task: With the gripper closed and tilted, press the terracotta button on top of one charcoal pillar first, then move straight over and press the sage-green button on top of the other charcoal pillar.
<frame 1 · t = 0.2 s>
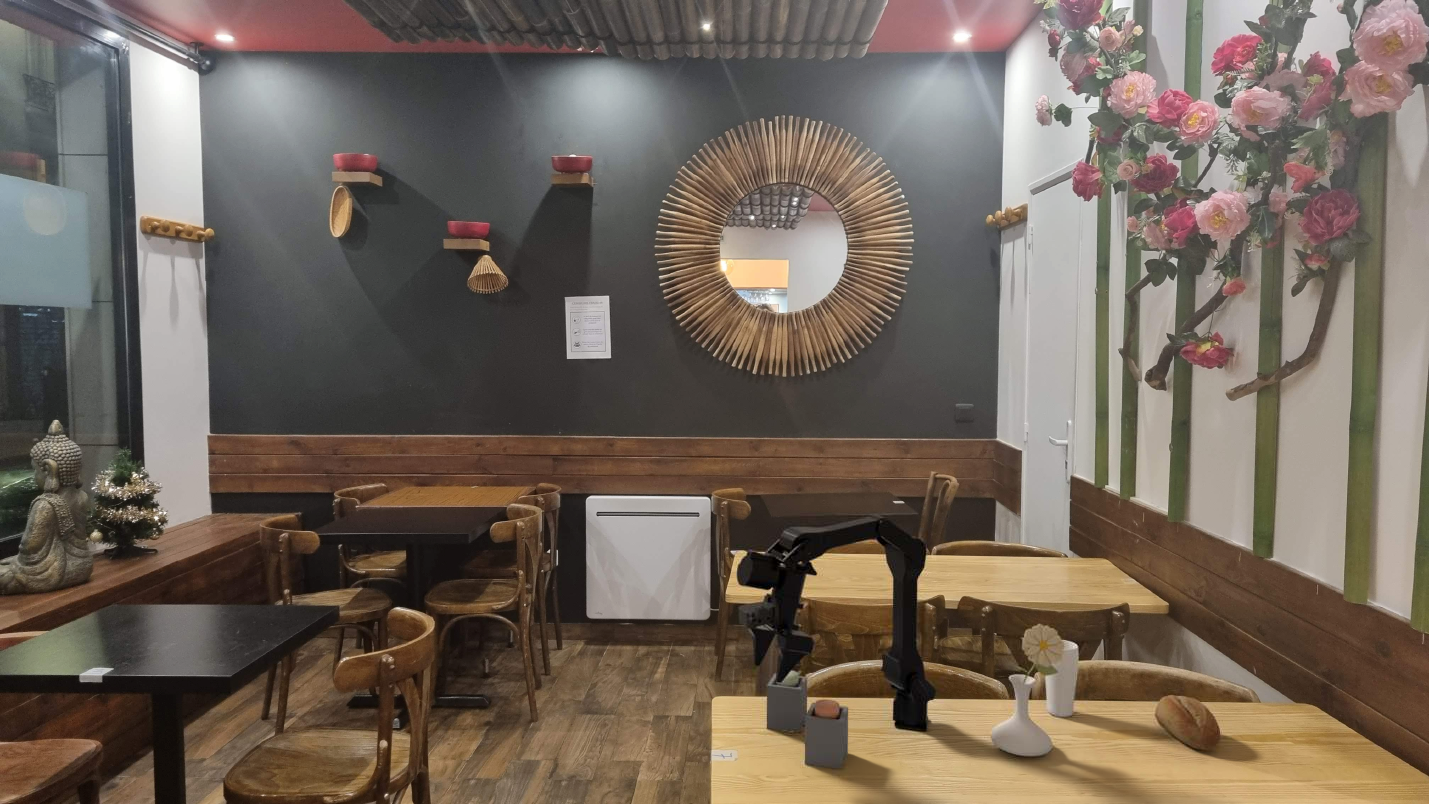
hand: (767, 673, 160), 16 cm above the table, tool pointing down, fingers open, 9 cm apart
flower in vase: (1025, 750, 163), on the table
drinking glass: (1059, 713, 180), on the table
terracotta button post: (826, 758, 159), on the table
bread roll: (1185, 739, 168), on the table
terracotta button: (827, 710, 158), point 9 cm above the table, slide at 0.0 cm
sage button: (787, 679, 173), point 9 cm above the table, slide at 0.0 cm
sage button post: (787, 723, 174), on the table
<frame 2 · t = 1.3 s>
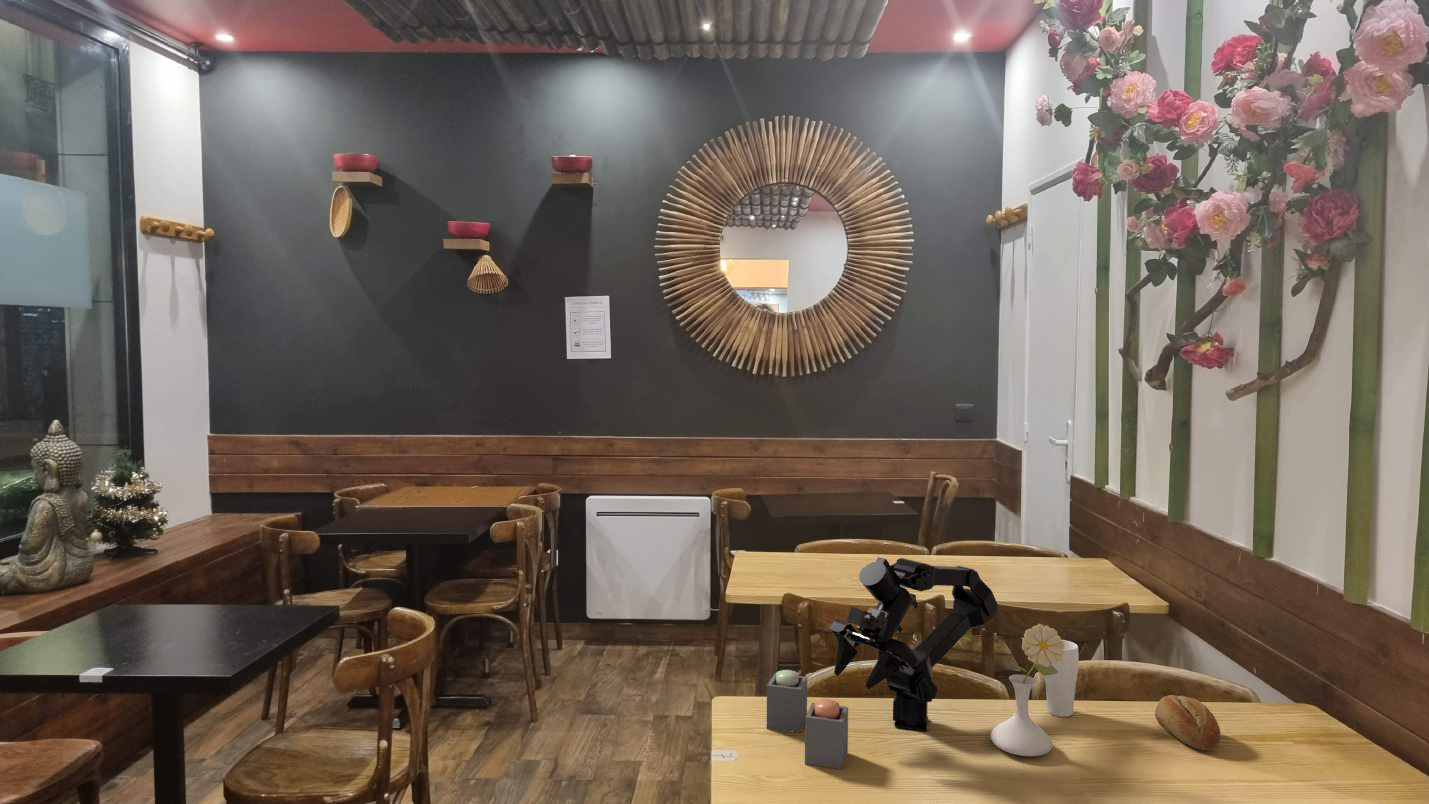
hand: (851, 681, 162), 13 cm above the table, tool tilted 45°, fingers open, 8 cm apart
nothing on the table moved.
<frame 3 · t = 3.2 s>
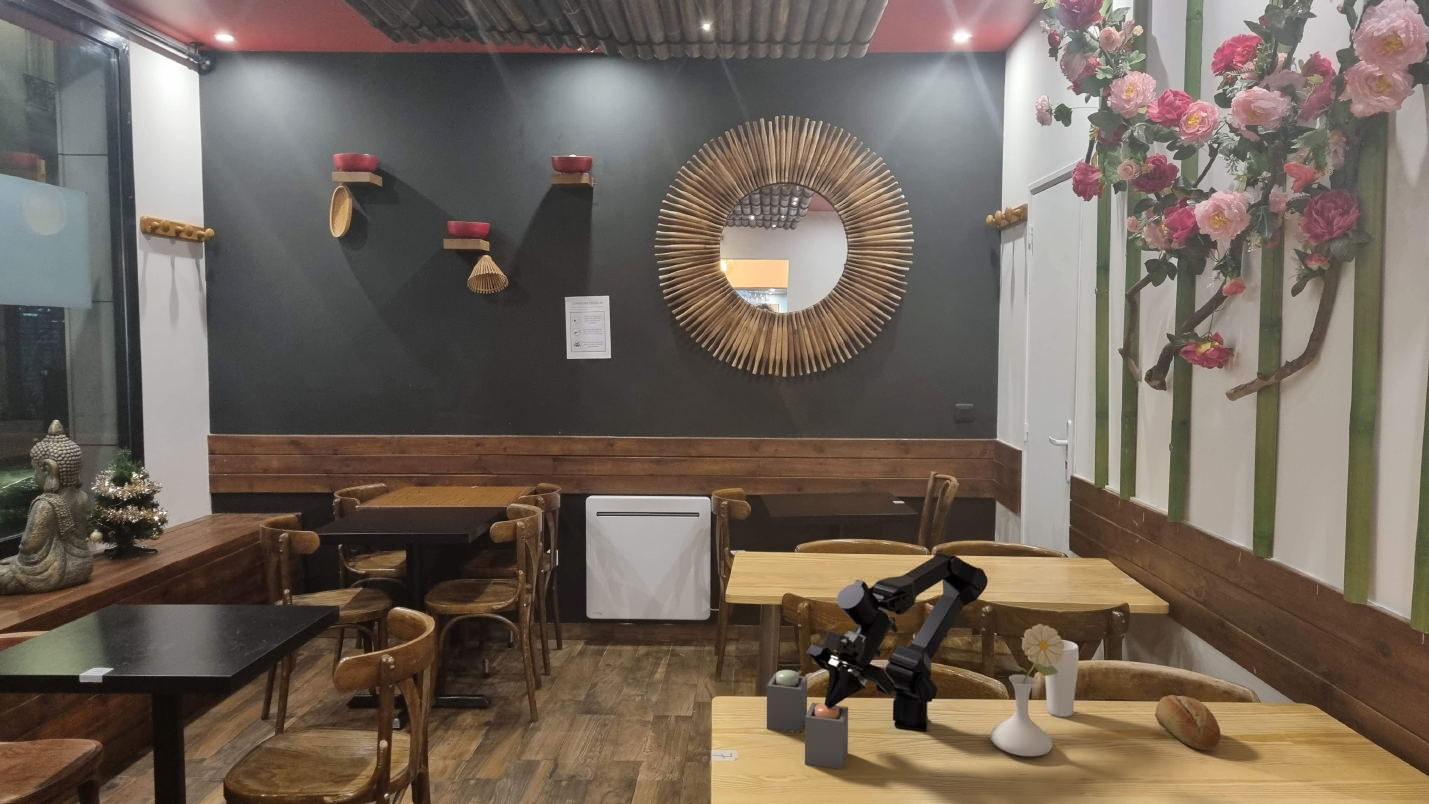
hand: (827, 706, 158), 10 cm above the table, tool tilted 45°, fingers closed, pressing on terracotta button
terracotta button: (826, 714, 158), point 8 cm above the table, slide at 0.8 cm, touching gripper
everything else where it was.
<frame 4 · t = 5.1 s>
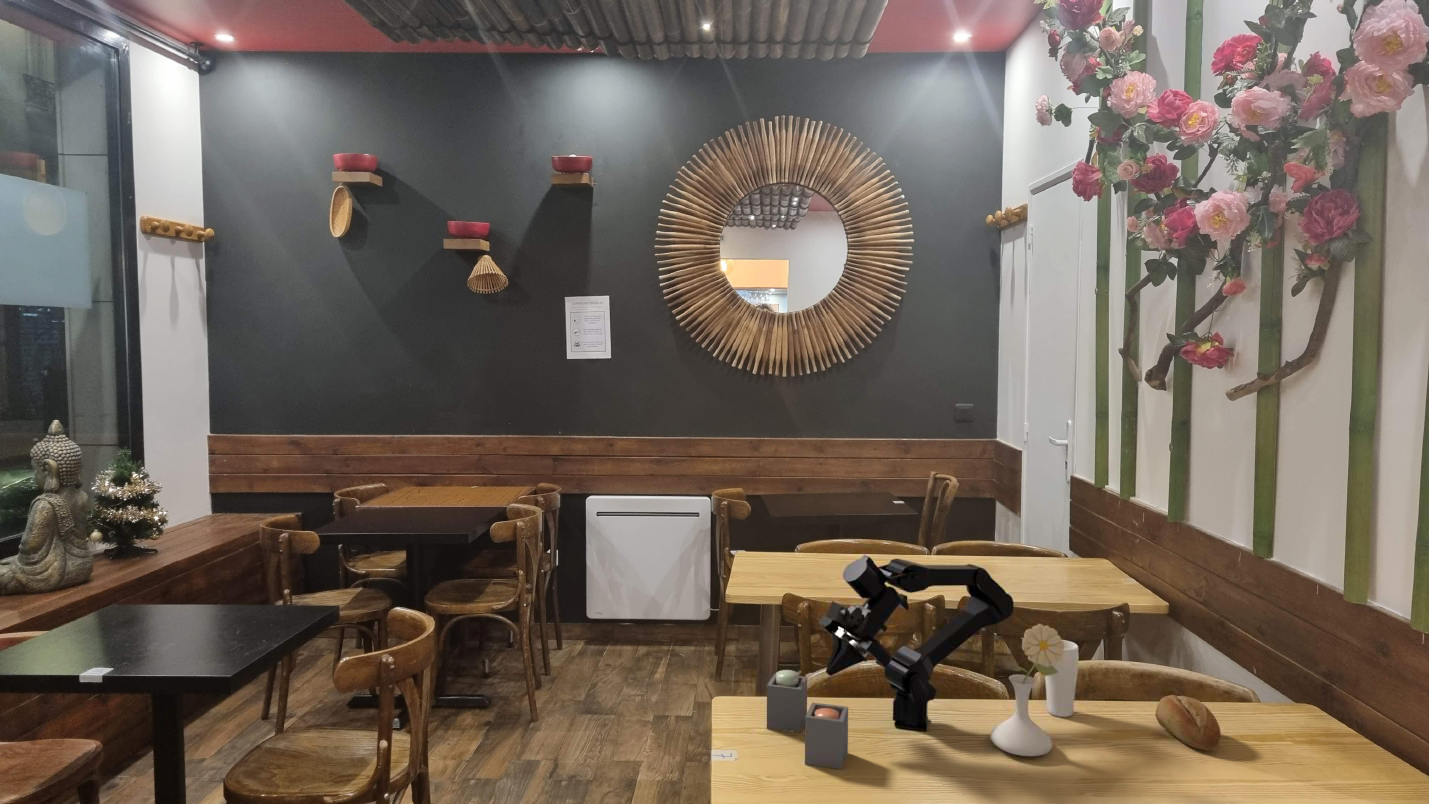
hand: (827, 674, 165), 14 cm above the table, tool tilted 45°, fingers closed
terracotta button: (826, 719, 158), point 8 cm above the table, slide at 1.7 cm
everything else where it was.
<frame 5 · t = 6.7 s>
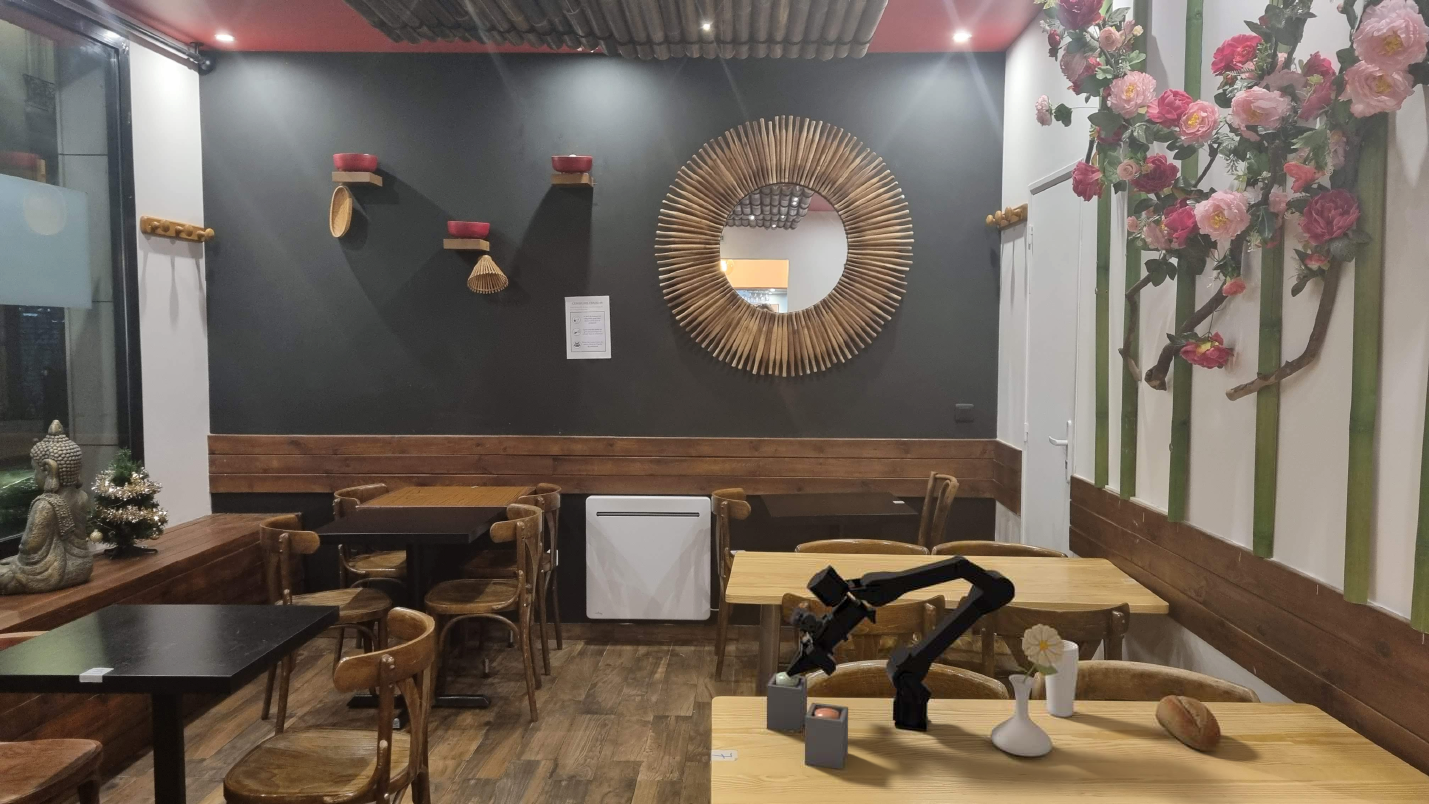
hand: (787, 674, 173), 10 cm above the table, tool tilted 45°, fingers closed, pressing on sage button
sage button: (787, 681, 173), point 9 cm above the table, slide at 0.4 cm, touching gripper
everything else where it was.
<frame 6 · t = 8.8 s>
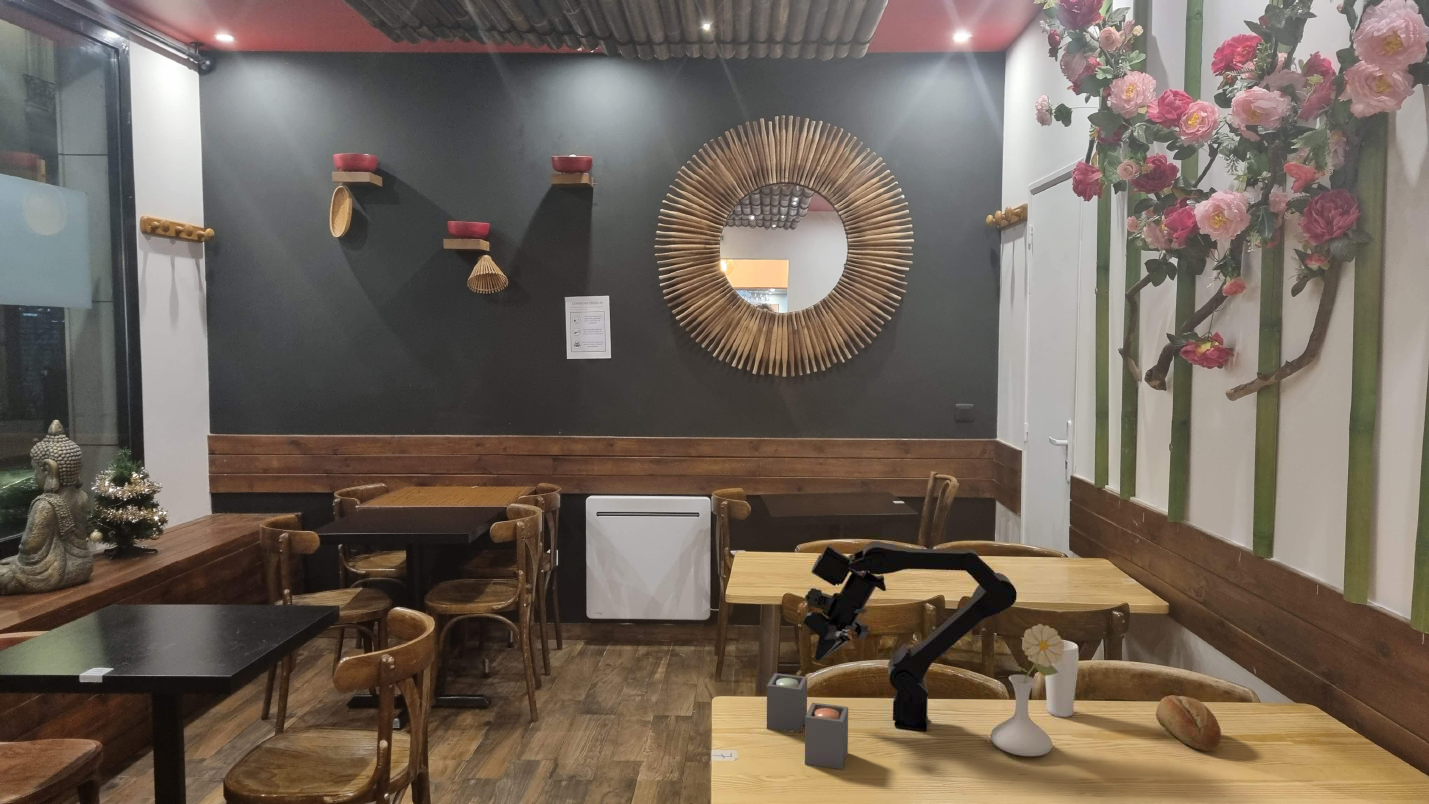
hand: (817, 659, 176), 12 cm above the table, tool tilted 30°, fingers closed
sage button: (787, 688, 173), point 8 cm above the table, slide at 1.7 cm
everything else where it was.
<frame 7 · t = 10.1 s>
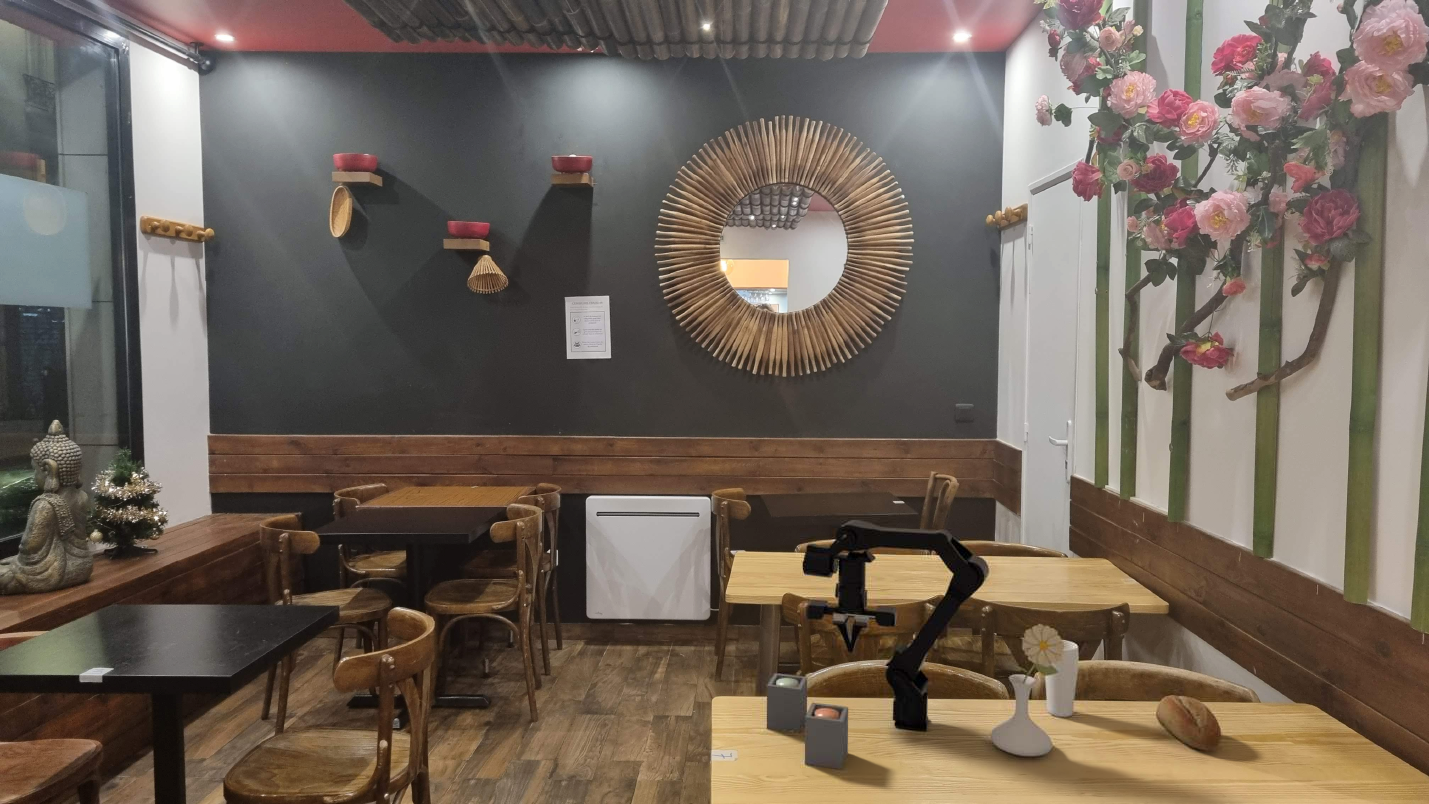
hand: (850, 652, 179), 13 cm above the table, tool pointing down, fingers closed
nothing on the table moved.
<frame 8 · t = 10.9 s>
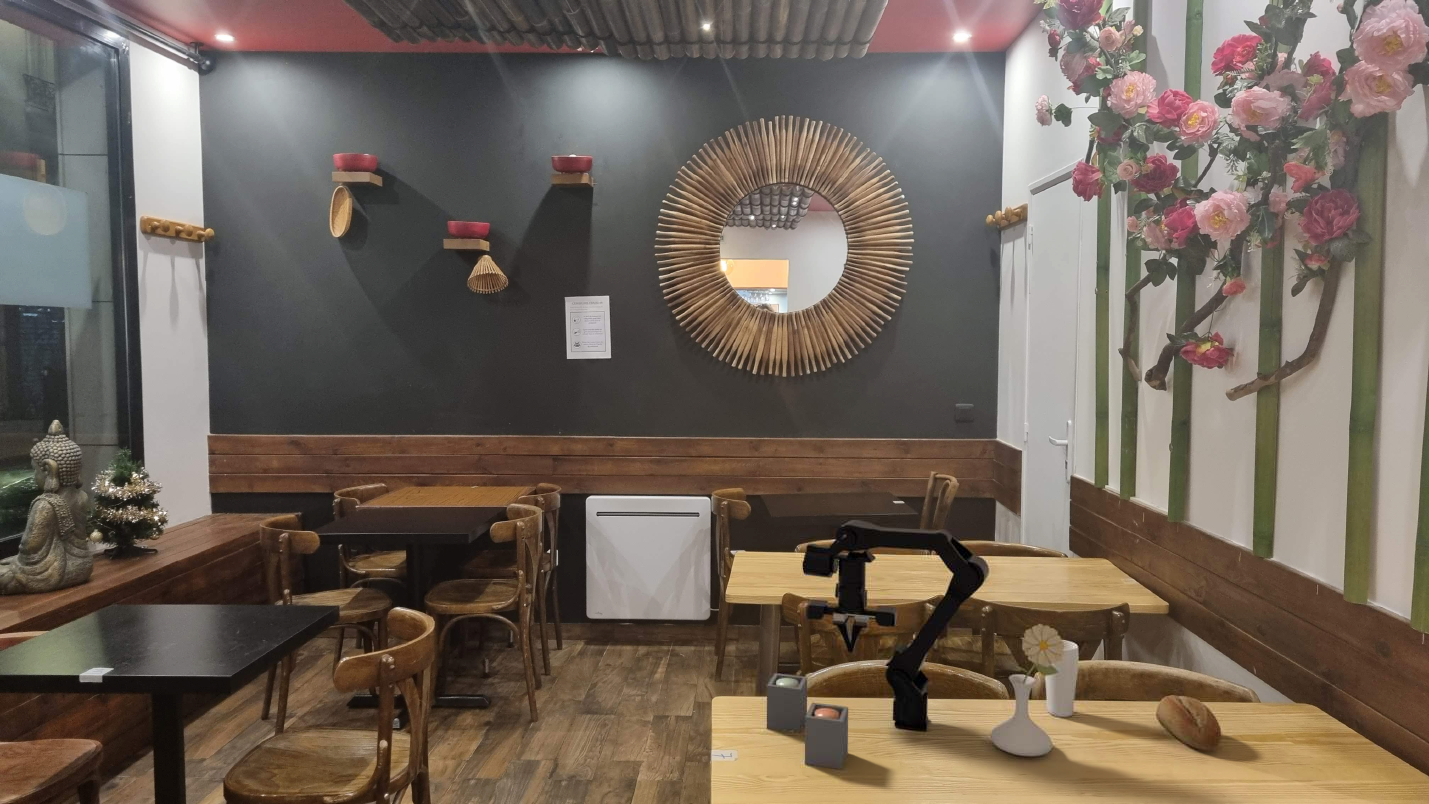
hand: (850, 652, 179), 13 cm above the table, tool pointing down, fingers closed
nothing on the table moved.
at the end: terracotta button slide at 1.7 cm; sage button slide at 1.7 cm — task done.
